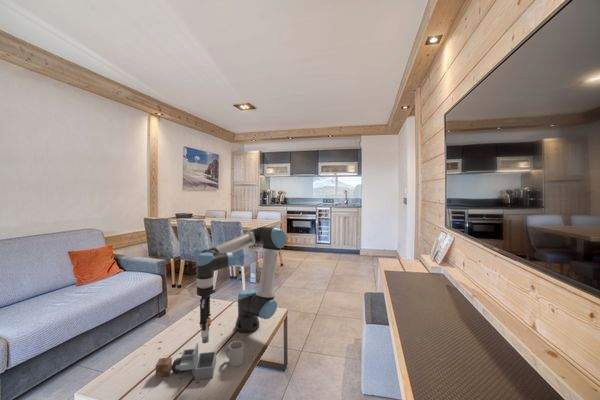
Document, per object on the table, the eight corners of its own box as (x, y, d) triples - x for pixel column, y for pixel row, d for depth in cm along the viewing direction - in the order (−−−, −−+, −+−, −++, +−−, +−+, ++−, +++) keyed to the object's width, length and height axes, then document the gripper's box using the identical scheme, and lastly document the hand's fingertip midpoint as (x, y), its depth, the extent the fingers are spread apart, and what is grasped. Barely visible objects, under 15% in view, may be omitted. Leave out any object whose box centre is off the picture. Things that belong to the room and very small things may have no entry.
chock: (171, 369, 126) (171, 357, 126) (168, 376, 121) (168, 364, 121) (159, 370, 125) (159, 358, 125) (155, 378, 120) (155, 365, 120)
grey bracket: (198, 363, 131) (198, 343, 130) (194, 376, 122) (194, 354, 121) (175, 365, 129) (174, 345, 128) (169, 379, 120) (169, 356, 119)
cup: (239, 368, 127) (239, 350, 127) (221, 364, 130) (221, 346, 130) (246, 358, 134) (246, 342, 134) (229, 355, 137) (229, 338, 137)
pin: (211, 338, 128) (211, 316, 128) (209, 344, 123) (209, 321, 123) (201, 339, 127) (201, 317, 127) (199, 345, 122) (199, 322, 122)
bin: (216, 360, 133) (216, 351, 132) (212, 377, 121) (212, 367, 121) (199, 362, 131) (199, 353, 131) (194, 379, 119) (194, 369, 119)
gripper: (200, 279, 132) (200, 324, 133) (192, 293, 115) (192, 344, 116) (215, 278, 134) (216, 323, 134) (210, 292, 116) (210, 343, 117)
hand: (205, 333), depth 125 cm, fingers closed on pin, 5 cm apart
